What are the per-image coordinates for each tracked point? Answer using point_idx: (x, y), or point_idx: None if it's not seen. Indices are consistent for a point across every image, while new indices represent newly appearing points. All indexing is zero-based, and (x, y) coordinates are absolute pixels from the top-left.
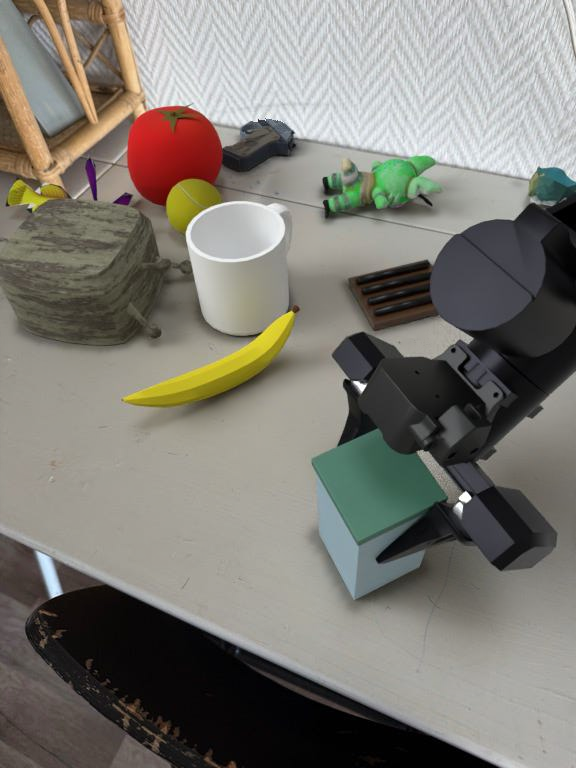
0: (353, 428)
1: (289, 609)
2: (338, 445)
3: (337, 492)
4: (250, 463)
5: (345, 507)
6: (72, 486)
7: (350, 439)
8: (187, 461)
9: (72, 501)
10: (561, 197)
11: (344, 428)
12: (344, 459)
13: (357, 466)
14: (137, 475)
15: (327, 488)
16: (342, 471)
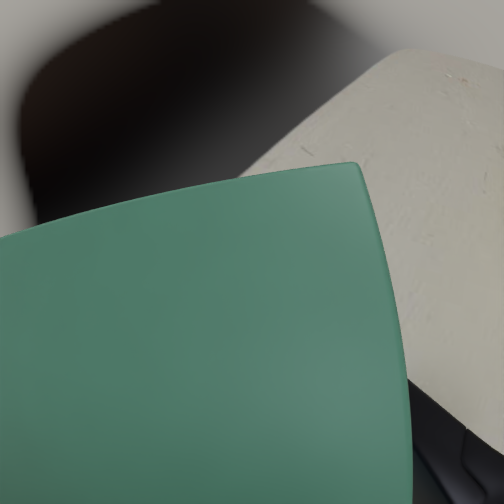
0: (482, 496)
1: None
2: (447, 418)
3: (65, 244)
4: (467, 272)
5: (9, 257)
6: (441, 85)
7: (446, 472)
8: (475, 189)
9: (425, 82)
10: None
11: (498, 454)
12: (258, 406)
13: (151, 465)
14: (457, 135)
15: (117, 203)
16: (162, 340)
